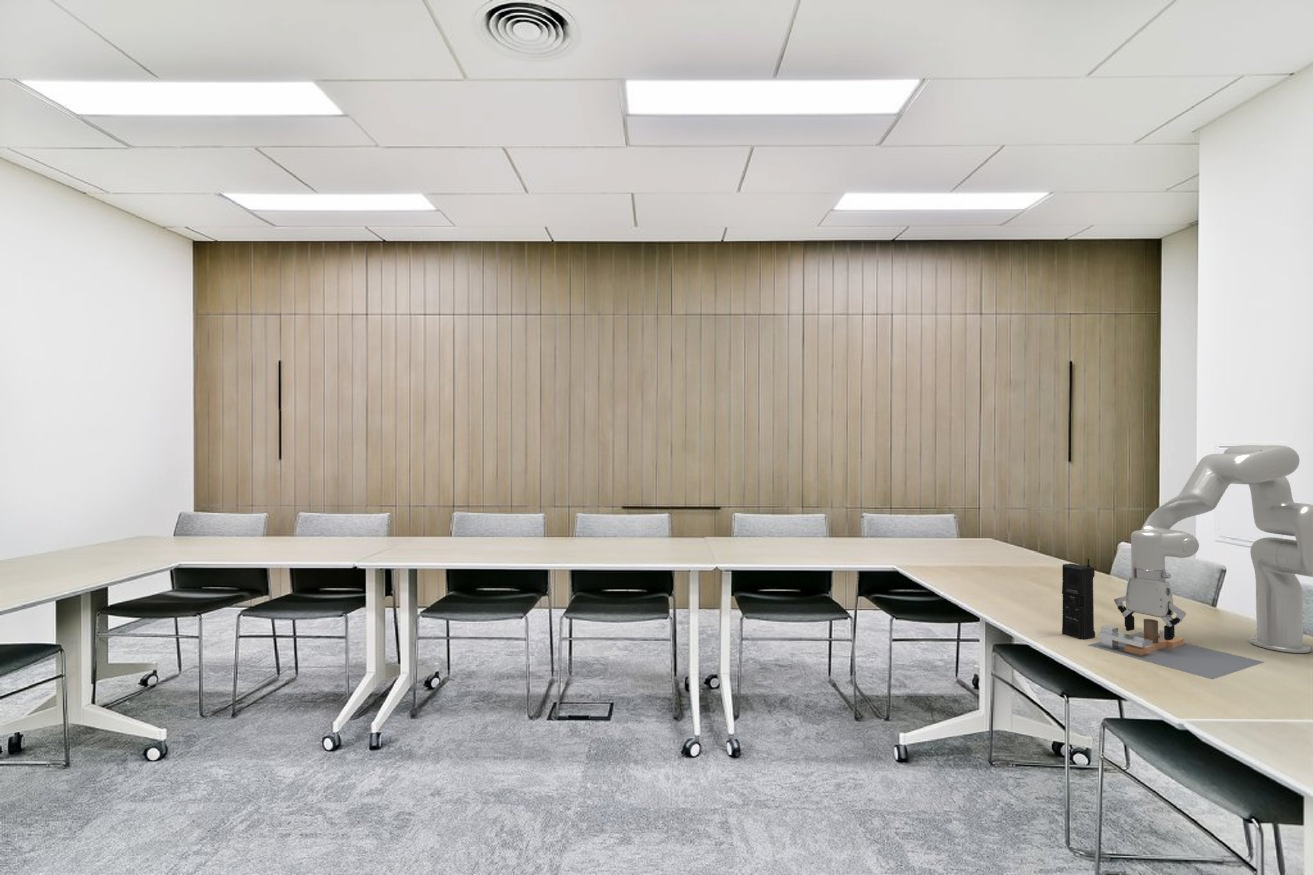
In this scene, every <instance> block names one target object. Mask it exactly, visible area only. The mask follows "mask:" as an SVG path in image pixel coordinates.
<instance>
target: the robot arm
mask: <svg viewBox="0 0 1313 875" xmlns="http://www.w3.org/2000/svg"><path fill="white" fill-rule="evenodd" d="M1299 465H1300V456H1299V453H1298V452H1297V451H1296V450H1295V449H1293V448H1292V447H1290V446H1287V445H1278V444H1277V445H1276V444H1273V445H1272V444H1269V445H1268V444H1266V445H1265V444H1263V445H1259V444H1243V445H1232V446H1231V447H1227V448H1226V449H1225V450H1224V451H1223V453H1212V454H1208V455H1205V456H1203V457H1202V458H1201V459H1200V460H1199V462H1198V464H1197V465H1196V466H1195V468H1194V470H1193V471H1192V472H1191V474H1190V477H1189V478H1188V480H1187V482H1186V484H1185V485H1184V486H1183V488H1182V489H1181V491H1180V492H1179V494H1178V495H1176V496H1175V497H1173V498H1171V499H1169V500H1168V501H1166V502H1164V503H1163V504H1162V505H1160V506H1158V507H1157V508H1156V509H1155V510H1154V511H1152V512H1151V513H1150V514H1149V515H1148V517H1147V519H1146V520H1145V522H1144V523H1143V525H1142V527H1141V529H1140V530H1135V531H1134V530H1133V531H1132V532H1131V534H1130V551H1131V552H1130V553H1131V554H1130V561H1131V563H1130V564H1131V572H1130V573H1131V576H1129V577H1128V581H1127V584H1126V593H1125V595H1123V596H1121V597H1117V598H1114V600H1113V602H1114V603H1115V605H1116V606H1117V609H1118V611H1120V613H1121V614H1122V616H1123V617H1124V627H1125V631H1126V632H1130V631H1134V630H1135V617H1134V614H1135V613H1137V614H1141V615H1145V616H1150V617H1156V618H1160V619H1161V620H1162V621H1163V623H1164V624H1165V625H1164V626H1163V631H1164V639H1165V640H1167V641H1168V640H1172V639H1173V638H1174V637H1176V635H1175V633H1176V632H1175V630H1176V629H1175V626H1177V625H1178V624H1179V623H1181V622H1182V621H1183V619H1184V618H1185V617H1186V616H1187V612H1186V611H1184V610H1182V609H1181V608H1179V607H1178V606H1176V605H1175V604H1174V599H1173V592H1172V589H1171V584H1170V582H1169V581H1168V580H1166V579H1171V576H1172V574H1171V573H1168V572H1166V571H1167V570H1166V559H1165V557H1169V558H1179V559H1185V558H1190V557H1193V556H1194V555H1195V554H1196V553H1197V552H1198V551H1199V548H1200V543H1199V541H1198V539H1197V538H1196V537H1195V536H1194V535H1193V534H1191V533H1190V532H1186V531H1182V530H1176V529H1171V528H1172V527H1174V526H1175V525H1176V524H1177V523H1178V522H1181V521H1182V520H1185V519H1188V518H1191V517H1192V518H1193V517H1195V516H1200V515H1203V514H1206V513H1209V512H1212V511H1213V510H1215V509H1216V508H1217V506H1218V504H1219V502H1220V501H1221V499H1222V497H1223V496H1224V494H1225V492H1226V490H1227V489H1228V488H1229V486H1230V485H1232V484H1235V485H1247V486H1248V487H1249V490H1250V496H1251V497H1250V498H1251V506H1252V513H1253V520H1254V524H1255V527H1256V528H1257V529H1258V530H1260V531H1262V532H1264V533H1269V534H1274V535H1281V536H1289V537H1295V539H1290V538H1289V539H1288V538H1283V537H1282V538H1281V537H1271V536H1270V537H1269V536H1268V537H1262V538H1259V539H1257V540H1255V541H1254V542H1253V543H1252V544H1251V545H1250V550H1249V551H1250V558H1251V562H1252V566H1253V570H1254V575H1255V577H1254V578H1255V610H1256V617H1255V618H1256V619H1255V620H1256V635H1253V636H1249V643H1250V644H1252V645H1254V646H1257V647H1259V648H1264V649H1266V650H1273V651H1277V652H1284V653H1292V654H1293V653H1294V654H1307V653H1308V654H1309V653H1311V651H1312V650H1311V649H1312V648H1311V646H1309V644H1306V643H1304V641H1303V640H1304V638H1303V637H1304V636H1305V635H1304V634H1305V633H1304V632H1303V630H1304V629H1303V589H1302V585H1301V582H1300V581H1299V578H1298V577H1297V576H1296V575H1298V576H1304V577H1305V576H1306V577H1308V578H1309V577H1310V578H1311V577H1312V578H1313V504H1309V503H1303V502H1302V503H1301V502H1295V501H1294V499H1293V493H1292V488H1291V483H1290V482H1289V479H1288V478H1287V476H1289V475H1291V474H1293V473H1294V472H1296V470H1297V469H1298V467H1299ZM1124 602H1125V605H1124ZM1174 613H1175V614H1176V616H1174V618H1173V615H1174Z"/></svg>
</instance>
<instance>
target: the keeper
mask: <svg viewBox="0 0 1313 875" xmlns="http://www.w3.org/2000/svg"><path fill="white" fill-rule="evenodd" d="M1098 637H1100V642H1101V646H1104V647H1108V648H1112V649H1113V648H1117V647H1118V641H1119V642H1123V643H1127V644H1131V645H1134V646H1138V647H1142V648H1143V647H1147V646H1150V645H1153V640H1149V639H1144V638H1140V637H1136V636H1132V635H1131V634H1127V633H1123V632H1119V627H1116V626H1113V625H1108V624H1106V625H1101V626H1100V631H1099V632H1098Z"/></svg>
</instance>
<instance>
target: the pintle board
mask: <svg viewBox="0 0 1313 875" xmlns="http://www.w3.org/2000/svg"><path fill="white" fill-rule="evenodd" d="M1159 633H1160V638H1162V639H1164V629H1162V630H1159ZM1130 635H1132V636H1136V637H1140V638H1144V632H1136V633H1131V634H1130ZM1125 645H1127V643H1123V642H1119V641H1118V647H1117V648H1113V649H1112V648H1108V647H1104V646H1101V641H1098V642H1093V643H1090V644H1087V646H1089V647H1093V648H1095V649H1100V650H1103V651H1105V652H1106V651H1108V652H1111V653H1114V654H1118V655H1120V656H1121V655H1122V656H1124V657H1129V658H1132V659H1136V660H1140V661H1142V662H1143V661H1144V662H1146V663H1151V664H1154V665H1158V666H1162V667H1165V668H1168V669H1172V670H1173V669H1174V670H1175V671H1176V670H1177V671H1180V672H1183V673H1184V672H1185V673H1187V674H1191V675H1194V676H1195V675H1196V676H1199V677H1202V678H1206V679H1209V680H1215V679H1218V678H1221V677H1224V676H1227V675H1230V674H1233V673H1235V672H1239V671H1242V670H1245V669H1248V668H1252V667H1254V666H1257V665H1260V664H1263V663H1264V661H1261V660H1258V659H1253V658H1250V657H1245V656H1241V655H1237V654H1232V653H1228V652H1225V651H1219V650H1216V649H1212V648H1207V647H1202V646H1199V645H1194V644H1190V643H1185V642H1184V644H1183V645H1180V646H1178V647H1175V648H1170V647H1164V648H1161V649H1158V650H1155V651H1153V652H1150V653H1147V654H1144V655H1138V654H1134V653H1130V652H1126V651H1125Z"/></svg>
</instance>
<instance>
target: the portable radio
mask: <svg viewBox="0 0 1313 875" xmlns="http://www.w3.org/2000/svg"><path fill="white" fill-rule="evenodd" d="M1095 573H1096V572H1095V567H1094V566H1091V565H1090V558H1087V565H1082V564H1077V563H1063V564H1062V584H1061V585H1062V586H1061V594H1062V618H1061V619H1062V621H1061V622H1062V623H1061V624H1062V628H1061V635H1064V636H1067V637H1068V636H1069V637H1072V638H1074V639H1077V640H1081V641H1082V640H1083V641H1087V640H1090V639H1095V638H1096V631H1095V623H1094V622H1095V620H1094V618H1095V617H1094V614H1095V613H1094V609H1095V608H1094V578H1095Z"/></svg>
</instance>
